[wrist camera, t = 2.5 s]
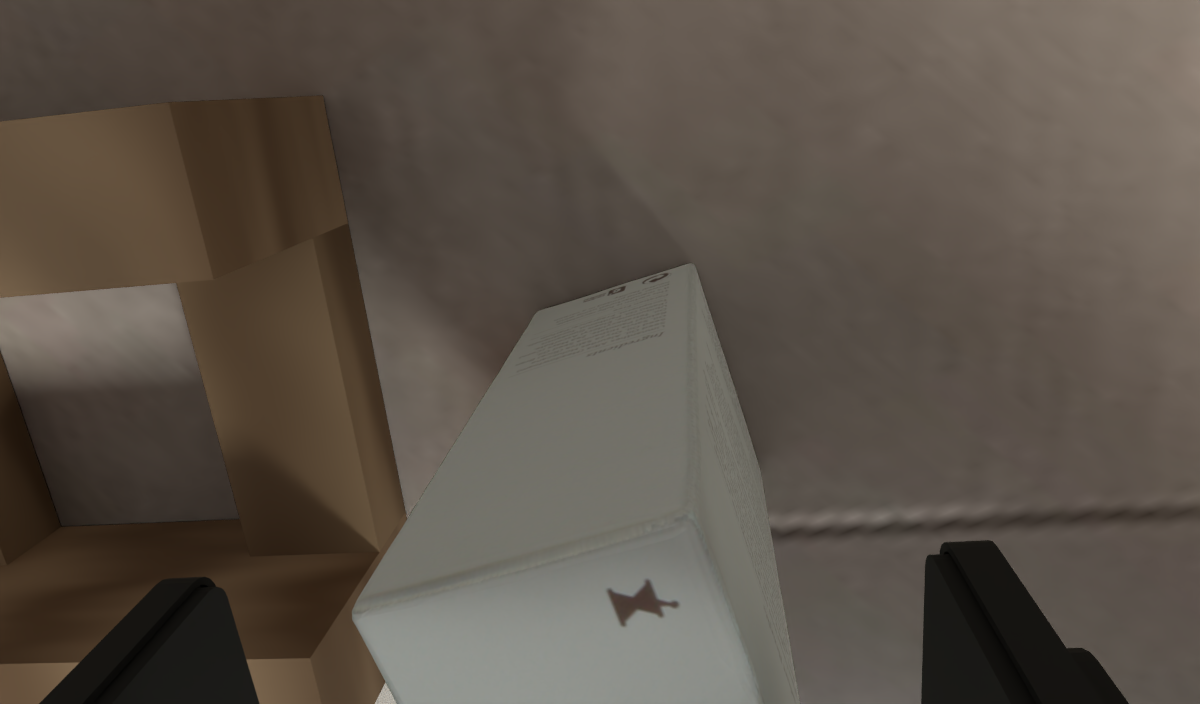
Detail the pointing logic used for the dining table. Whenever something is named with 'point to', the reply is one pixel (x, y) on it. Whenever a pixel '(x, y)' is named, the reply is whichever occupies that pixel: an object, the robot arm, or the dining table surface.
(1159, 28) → the dining table surface
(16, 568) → the socket
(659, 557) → the skincare box
